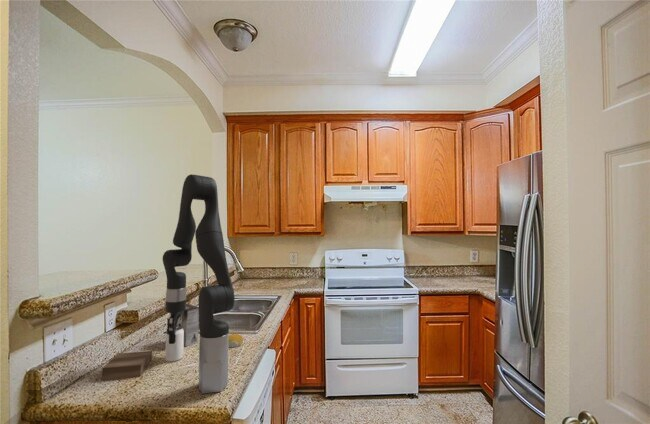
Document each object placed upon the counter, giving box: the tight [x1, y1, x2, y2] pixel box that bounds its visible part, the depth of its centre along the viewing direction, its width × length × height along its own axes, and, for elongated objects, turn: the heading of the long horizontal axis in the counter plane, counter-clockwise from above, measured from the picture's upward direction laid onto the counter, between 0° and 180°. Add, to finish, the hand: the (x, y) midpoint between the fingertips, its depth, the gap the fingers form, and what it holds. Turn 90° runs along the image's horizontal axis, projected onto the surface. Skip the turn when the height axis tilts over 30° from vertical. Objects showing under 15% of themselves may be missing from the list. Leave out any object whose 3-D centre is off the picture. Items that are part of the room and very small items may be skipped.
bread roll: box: [228, 333, 244, 348], centre depth 139 cm, size 8×9×4 cm
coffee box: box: [181, 303, 199, 347], centre depth 141 cm, size 9×6×16 cm
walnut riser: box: [101, 350, 153, 381], centre depth 114 cm, size 12×12×4 cm
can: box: [164, 326, 185, 363], centre depth 124 cm, size 6×6×12 cm
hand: (174, 339), depth 124 cm, fingers open, 8 cm apart
